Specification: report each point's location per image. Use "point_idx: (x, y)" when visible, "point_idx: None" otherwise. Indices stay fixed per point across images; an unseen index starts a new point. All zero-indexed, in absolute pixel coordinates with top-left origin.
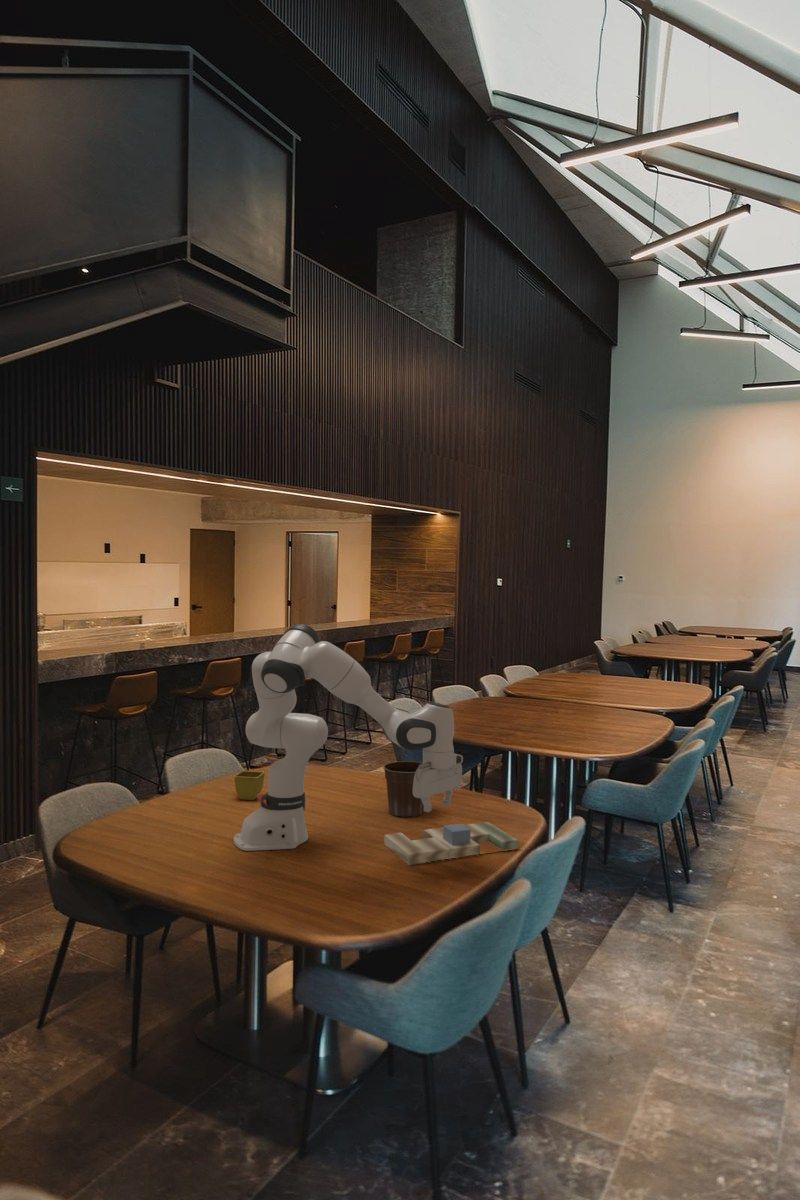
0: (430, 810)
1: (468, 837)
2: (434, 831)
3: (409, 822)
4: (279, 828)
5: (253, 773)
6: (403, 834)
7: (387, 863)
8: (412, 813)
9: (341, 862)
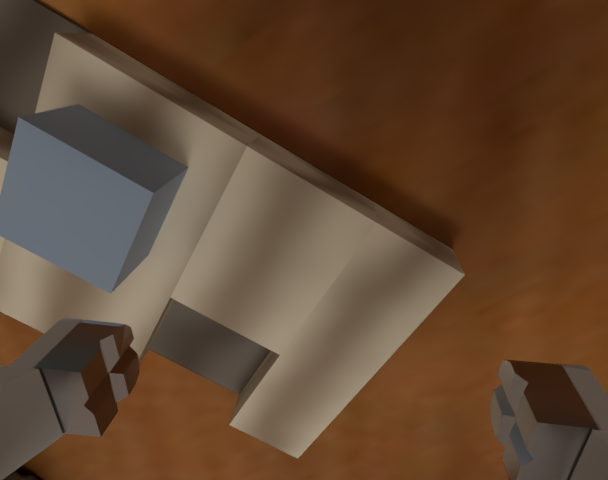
0: (545, 366)
1: (69, 116)
2: None
3: (60, 451)
4: None
5: None
6: (241, 409)
7: (482, 327)
8: (7, 477)
9: None
